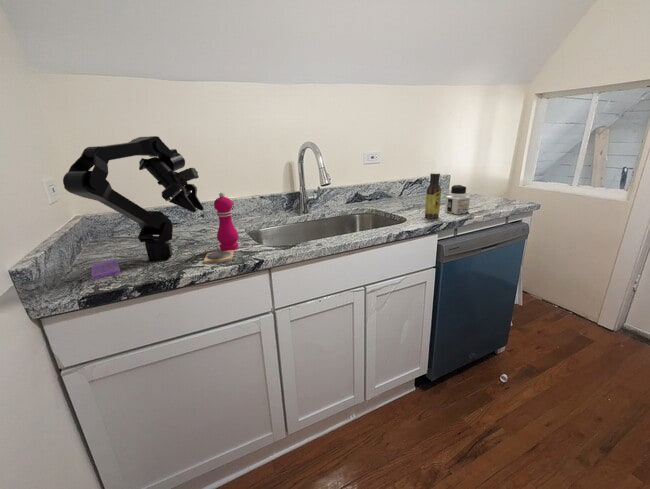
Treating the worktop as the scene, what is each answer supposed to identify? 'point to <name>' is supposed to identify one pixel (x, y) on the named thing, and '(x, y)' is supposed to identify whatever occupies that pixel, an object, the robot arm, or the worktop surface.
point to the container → (457, 200)
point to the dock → (218, 256)
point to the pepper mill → (225, 224)
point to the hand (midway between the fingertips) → (199, 210)
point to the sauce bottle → (433, 197)
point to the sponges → (105, 269)
